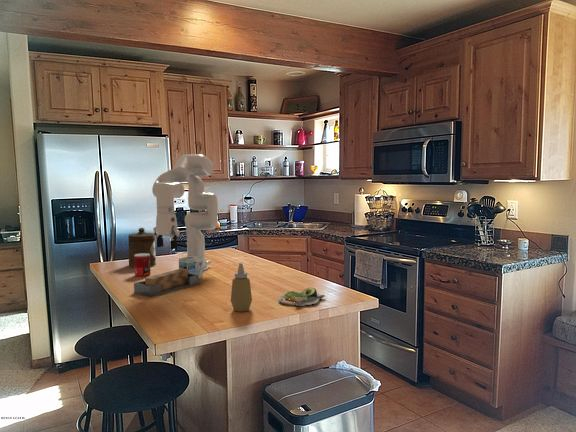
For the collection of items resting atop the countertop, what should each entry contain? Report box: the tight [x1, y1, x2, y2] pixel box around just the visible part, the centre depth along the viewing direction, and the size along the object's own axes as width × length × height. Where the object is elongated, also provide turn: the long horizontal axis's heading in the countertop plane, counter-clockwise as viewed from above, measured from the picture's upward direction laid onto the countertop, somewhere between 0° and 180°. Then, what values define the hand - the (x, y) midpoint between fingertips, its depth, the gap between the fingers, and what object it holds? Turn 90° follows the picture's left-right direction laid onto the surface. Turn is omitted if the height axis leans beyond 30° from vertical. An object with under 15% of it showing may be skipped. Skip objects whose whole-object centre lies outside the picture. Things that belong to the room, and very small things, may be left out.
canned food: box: [134, 253, 151, 278], centre depth 222 cm, size 8×8×11 cm
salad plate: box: [277, 287, 326, 307], centre depth 174 cm, size 19×18×5 cm
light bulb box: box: [178, 255, 204, 279], centre depth 215 cm, size 11×7×11 cm, turn 148°
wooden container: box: [127, 227, 157, 269], centre depth 248 cm, size 15×15×22 cm
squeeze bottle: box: [230, 262, 253, 312], centre depth 162 cm, size 8×8×18 cm
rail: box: [144, 268, 188, 290], centre depth 195 cm, size 22×4×6 cm, turn 151°
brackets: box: [133, 273, 200, 298], centre depth 195 cm, size 27×12×4 cm, turn 144°
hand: (166, 247), depth 194 cm, fingers open, 9 cm apart
